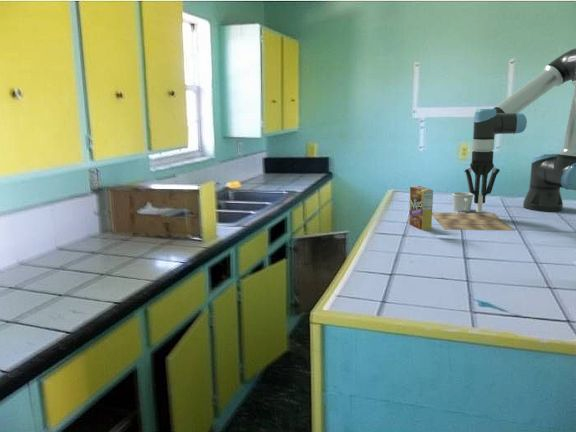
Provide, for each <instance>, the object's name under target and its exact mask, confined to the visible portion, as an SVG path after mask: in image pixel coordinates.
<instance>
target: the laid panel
mask: <svg viewBox="0 0 576 432" xmlns="http://www.w3.org/2000/svg"><path fill="white" fill-rule="evenodd" d="M435 220H436V222H437V223H439V225H440V226H441V227H442V229H443V230H451V231H452V230H454V231H509V232H510V231H512V232H513V231H516V229H514V228H513V227H512V226H511V225H509V224H507V222H505V221H504V220H502V219H501V220H479V219H435Z"/></svg>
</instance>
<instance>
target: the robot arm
mask: <svg viewBox="0 0 576 432" xmlns="http://www.w3.org/2000/svg"><path fill="white" fill-rule="evenodd" d="M569 81H571V84H573V86H574V91H573V97H572V101H571V104H570V105H571V106H570V111H569V115H568V120H567V126H566V130H565V135H564V141H563V145H562V146H563V147H562V149H561V150H560V151H558V152H557V153H541V154H535V155H533V156H532V159H531V163H530V164H531V167H530V179H529V187H528V188H529V189H528V190H527V193H526V195H525V197H524V200H523V204H522V207H523V208H525V209H528V210H531V211H538V212H539V211H540V212H560V211H562V210H563V207H564V202H563V198H562V195H561V188H562V189H565V190H569V191H576V48H573V49H570V50H567V51H566V52H564V53H562V54H561V55H559V56H558V57H556V58H555V59H554V60H552V61H550V63H548V64H547V65H545V66H544V67H543V69H542V71H541V73H539V74H538V75H537V76H535V77H534V78H532V79H531V80H530V81H528V82H527V83H526V84H524V85H523V86H522V87H520V88H518V89H517V90H516V91H515V92H514V93H512V94H510V95H509V96H508V97H506V98H505V99H504V100H503V101H501V102H500V103H498V104H497V105H496V106H494V107H493V108H477V109H476V110H475V112H474V115H473V116H474V118H473V132H472V133H473V134H472V135H473V137H472V152H471V162H470V164H469V166H468V167H467V168H464V169H463V172H464V173H465V174H466V175H465V176H466V179H467V180H466V181H467V185H468V191H469V193H472V194H473V202H474V204H476V206H475V207H476V208H475V212H476V213H483V204H485V203H486V196H487V195H490V194H491V193H492V192H493V191H492V190H493V187H494V184H495V181H496V178H497V175H498V174H499V173H500V168H497V167H496V166H495V165H494V149H495V137H496V136H495V135H500V134H501V135H502V134H503V135H505V134H506V135H507V134H510V135H512V134H513V135H516V134H521V133H523V132H524V131H526V128H527V125H528V124H527V123H528V120H527V117H526V115H525V114H523V113H520V112H522V111H523V110H524V109H526V108H527V107H529V106H530V105H532V104H533V103H534V102H535V101H537V100H538V99H540V98H541V97H542V96H544V95H545V94H546V93H548V92H549V91H550V90H553V88H554V87H560V86H561V85H563V84H564V83H566V82H569ZM472 172H473V173H474V184H473V178H472V174H471V173H472ZM490 172H491V174H490V177H489V180H488V176H489V173H490ZM480 184H481V185H480ZM480 186H481V188H480ZM480 192H481V193H480ZM559 210H560V211H559Z"/></svg>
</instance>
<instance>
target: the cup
mask: <svg viewBox="0 0 576 432" xmlns="http://www.w3.org/2000/svg"><path fill="white" fill-rule="evenodd" d="M451 196H452V210H453V211H455V212H458V213H463V212H464V213H469V212H470V211H471V209H472V203H473V200H474V194H472V193H470V192H465V191H457V192H452V194H451Z"/></svg>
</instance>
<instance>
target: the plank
mask: <svg viewBox="0 0 576 432" xmlns="http://www.w3.org/2000/svg"><path fill="white" fill-rule="evenodd" d="M432 217H433V218H434V219H435V220H436V219H475V220H502V219H501V218H500V217H499V216H498V215H497V214H496V213H483V212H475V213H473V212H472V213H471V212H470V213H469V212H464V213H463V212H432Z"/></svg>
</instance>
